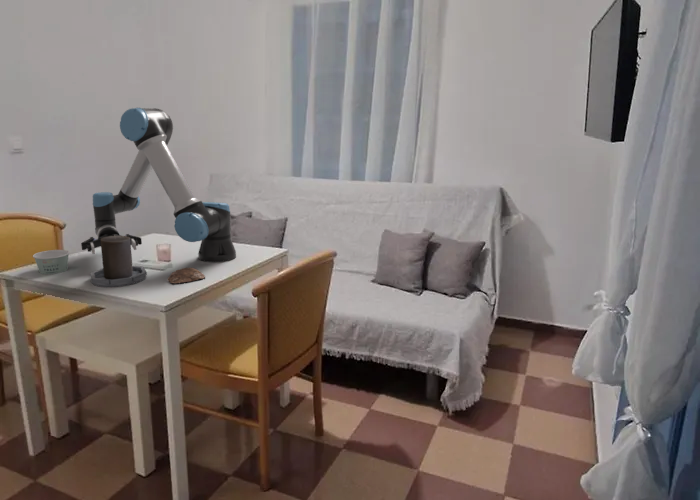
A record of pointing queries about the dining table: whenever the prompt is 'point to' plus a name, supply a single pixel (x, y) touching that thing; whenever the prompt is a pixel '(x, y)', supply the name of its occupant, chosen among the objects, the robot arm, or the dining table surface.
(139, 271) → the tray
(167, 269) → the dining table surface
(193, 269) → the shell
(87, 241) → the robot arm
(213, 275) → the dining table surface
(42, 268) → the food container
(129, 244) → the pillar candle
